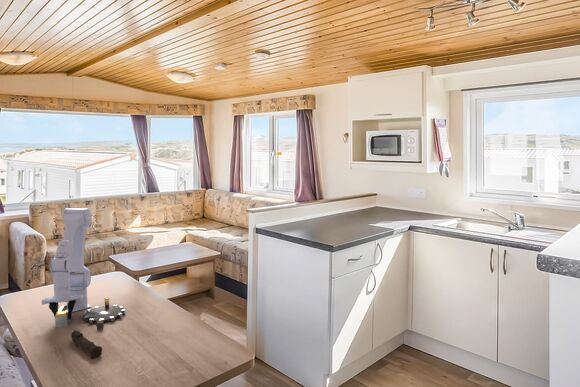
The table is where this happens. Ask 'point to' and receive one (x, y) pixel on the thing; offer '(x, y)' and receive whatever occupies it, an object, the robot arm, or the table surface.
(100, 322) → the index pointer
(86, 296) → the robot arm
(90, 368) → the table surface
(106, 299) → the sprocket
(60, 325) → the knob box
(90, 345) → the dark brown bar
